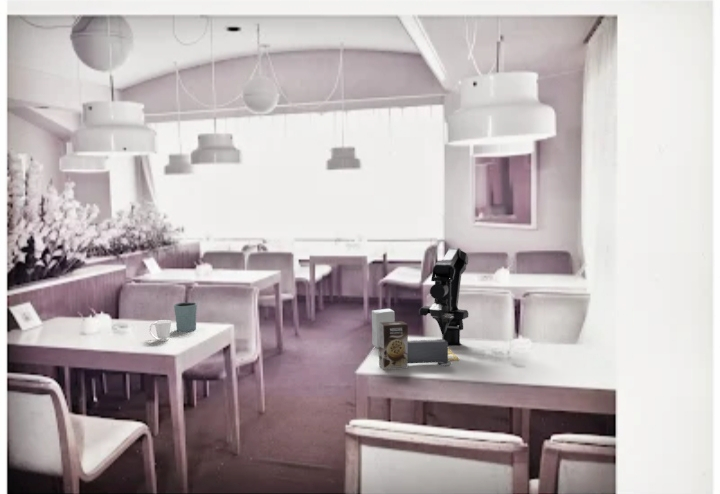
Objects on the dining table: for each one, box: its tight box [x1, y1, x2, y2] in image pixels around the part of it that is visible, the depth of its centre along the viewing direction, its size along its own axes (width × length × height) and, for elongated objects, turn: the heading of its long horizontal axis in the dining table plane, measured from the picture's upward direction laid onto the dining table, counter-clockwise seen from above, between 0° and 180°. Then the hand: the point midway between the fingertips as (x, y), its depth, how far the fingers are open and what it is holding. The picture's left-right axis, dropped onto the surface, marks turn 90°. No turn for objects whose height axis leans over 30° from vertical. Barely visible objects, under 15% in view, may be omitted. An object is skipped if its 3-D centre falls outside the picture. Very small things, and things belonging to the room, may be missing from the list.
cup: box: [148, 319, 172, 342], centre depth 272 cm, size 7×10×8 cm
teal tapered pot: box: [173, 302, 198, 333], centre depth 291 cm, size 10×10×12 cm
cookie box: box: [378, 320, 409, 371], centre depth 228 cm, size 9×6×16 cm
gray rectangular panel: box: [407, 338, 449, 364], centre depth 230 cm, size 16×2×8 cm, turn 96°
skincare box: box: [371, 308, 396, 349], centre depth 258 cm, size 8×6×15 cm
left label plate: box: [448, 353, 460, 362], centre depth 240 cm, size 6×8×1 cm
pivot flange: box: [437, 361, 452, 367], centre depth 231 cm, size 5×5×1 cm
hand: (443, 334), depth 248 cm, fingers closed
